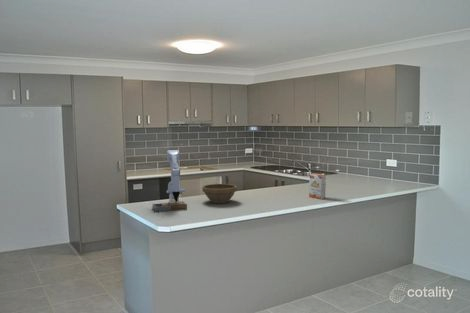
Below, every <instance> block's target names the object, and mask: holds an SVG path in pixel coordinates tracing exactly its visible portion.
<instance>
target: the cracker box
mask: <svg viewBox="0 0 470 313" xmlns="http://www.w3.org/2000/svg"><path fill="white" fill-rule="evenodd" d="M326 178H327V177H326V174H320V173H313V172H311V173H309V181H308V183H309V184H308V190H309V191H308V197H309V198H313V199H317V200H324V199H326V185H327V184H326V183H327V181H326V180H327V179H326Z"/></svg>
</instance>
